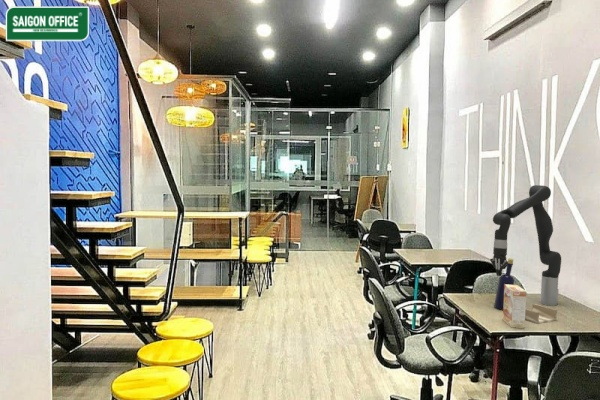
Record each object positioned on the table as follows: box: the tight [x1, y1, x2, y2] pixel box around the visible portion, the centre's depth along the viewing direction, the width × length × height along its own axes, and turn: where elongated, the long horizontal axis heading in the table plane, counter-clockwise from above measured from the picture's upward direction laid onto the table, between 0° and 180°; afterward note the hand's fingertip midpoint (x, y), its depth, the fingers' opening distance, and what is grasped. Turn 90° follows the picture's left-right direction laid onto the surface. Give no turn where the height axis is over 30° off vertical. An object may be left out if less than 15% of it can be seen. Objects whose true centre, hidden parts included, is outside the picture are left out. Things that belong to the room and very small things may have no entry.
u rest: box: [525, 303, 558, 325], centre depth 278 cm, size 16×14×6 cm
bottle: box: [493, 258, 516, 311], centre depth 295 cm, size 9×9×30 cm
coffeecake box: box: [502, 284, 527, 329], centre depth 266 cm, size 15×7×20 cm, turn 174°
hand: (498, 275), depth 300 cm, fingers closed
